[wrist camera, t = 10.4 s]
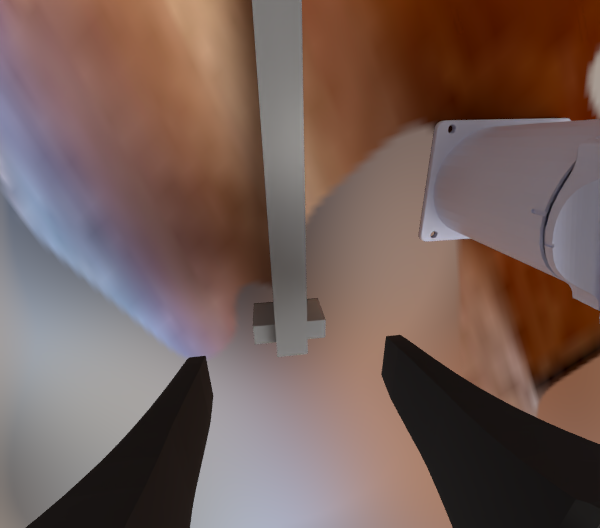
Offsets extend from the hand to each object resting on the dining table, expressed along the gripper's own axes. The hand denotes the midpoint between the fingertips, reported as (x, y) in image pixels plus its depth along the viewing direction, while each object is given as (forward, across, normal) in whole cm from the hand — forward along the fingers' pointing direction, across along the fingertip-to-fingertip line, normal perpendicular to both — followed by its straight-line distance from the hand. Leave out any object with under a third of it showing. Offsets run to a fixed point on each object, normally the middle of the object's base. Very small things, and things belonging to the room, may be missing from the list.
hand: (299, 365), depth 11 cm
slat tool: (+10, 0, -5) cm, 12 cm away
